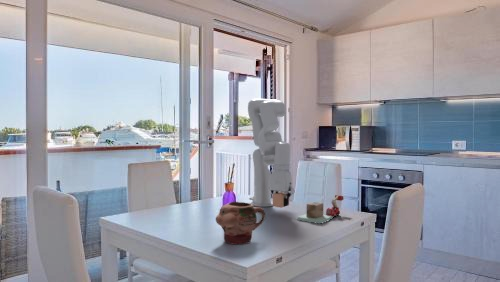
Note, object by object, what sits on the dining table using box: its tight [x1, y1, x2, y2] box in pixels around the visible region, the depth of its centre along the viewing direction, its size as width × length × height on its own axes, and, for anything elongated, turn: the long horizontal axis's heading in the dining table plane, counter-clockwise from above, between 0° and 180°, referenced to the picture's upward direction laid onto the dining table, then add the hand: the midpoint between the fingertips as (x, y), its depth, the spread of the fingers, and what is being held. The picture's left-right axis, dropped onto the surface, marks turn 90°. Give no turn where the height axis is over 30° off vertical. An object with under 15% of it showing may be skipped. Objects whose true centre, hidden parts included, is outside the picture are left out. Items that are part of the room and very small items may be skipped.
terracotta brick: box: [272, 192, 290, 209], centre depth 182 cm, size 5×7×6 cm
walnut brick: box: [306, 201, 324, 218], centre depth 174 cm, size 5×7×6 cm
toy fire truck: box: [325, 194, 344, 218], centre depth 182 cm, size 3×14×10 cm, turn 143°
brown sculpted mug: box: [215, 201, 266, 245], centre depth 139 cm, size 20×12×14 cm, turn 121°
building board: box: [296, 213, 334, 224], centre depth 174 cm, size 12×12×2 cm
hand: (281, 204), depth 182 cm, fingers closed on terracotta brick, 5 cm apart
